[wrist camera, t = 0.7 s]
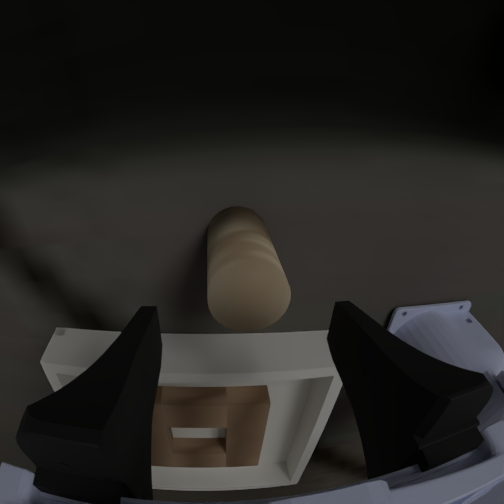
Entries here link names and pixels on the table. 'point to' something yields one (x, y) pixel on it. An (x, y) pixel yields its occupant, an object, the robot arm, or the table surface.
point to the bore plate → (209, 425)
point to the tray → (226, 375)
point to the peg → (244, 272)
